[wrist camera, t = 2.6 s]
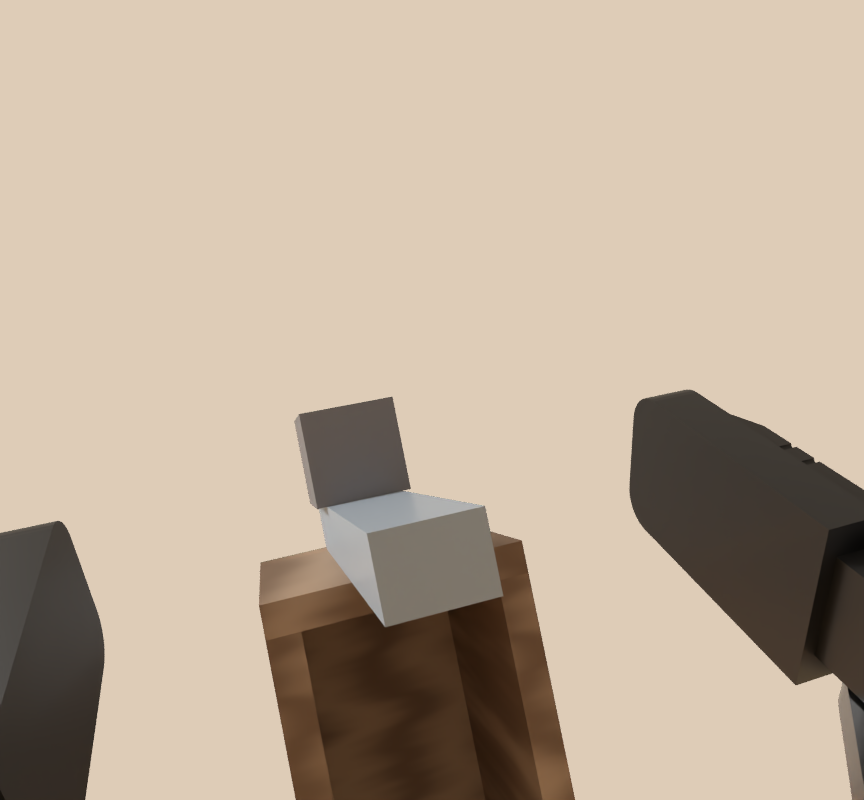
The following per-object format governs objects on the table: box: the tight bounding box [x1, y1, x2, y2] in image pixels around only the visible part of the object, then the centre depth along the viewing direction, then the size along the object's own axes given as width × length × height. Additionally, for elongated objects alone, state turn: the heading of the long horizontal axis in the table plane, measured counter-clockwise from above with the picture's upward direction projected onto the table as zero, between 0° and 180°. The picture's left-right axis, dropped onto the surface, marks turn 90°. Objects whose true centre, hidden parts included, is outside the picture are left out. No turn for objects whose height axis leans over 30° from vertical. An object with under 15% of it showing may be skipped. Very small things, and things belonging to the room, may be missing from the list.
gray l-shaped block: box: [295, 397, 503, 627], centre depth 34 cm, size 5×22×8 cm, turn 13°
